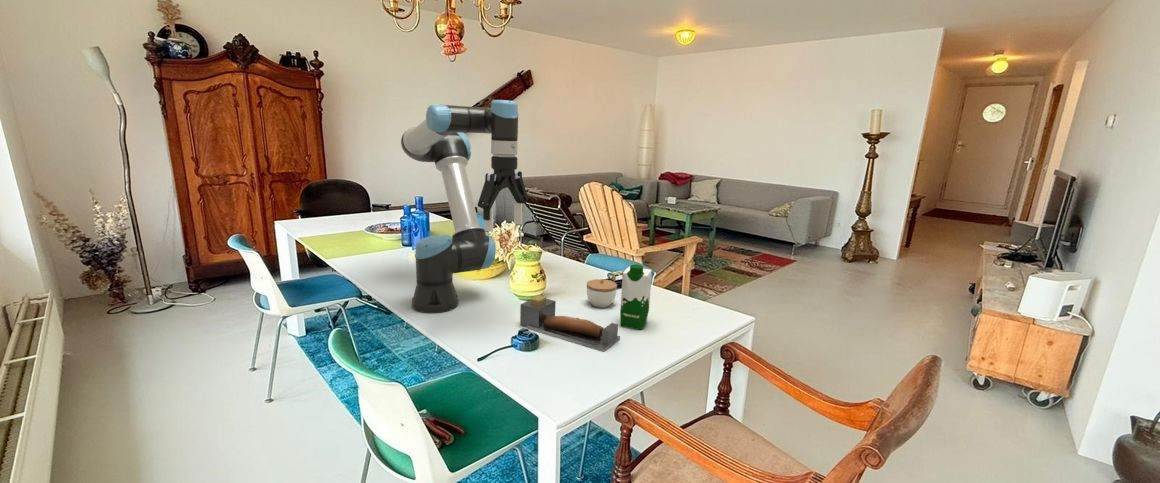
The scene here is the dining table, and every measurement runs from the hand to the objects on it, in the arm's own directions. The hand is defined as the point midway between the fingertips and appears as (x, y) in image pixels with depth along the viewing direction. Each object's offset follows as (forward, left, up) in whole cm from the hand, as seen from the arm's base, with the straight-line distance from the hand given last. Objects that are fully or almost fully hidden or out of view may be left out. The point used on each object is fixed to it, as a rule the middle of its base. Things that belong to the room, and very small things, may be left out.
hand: (504, 227), depth 144 cm
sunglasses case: (+23, +6, -30) cm, 38 cm away
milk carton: (+34, +24, -31) cm, 52 cm away
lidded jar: (+17, +33, -31) cm, 48 cm away
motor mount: (+20, +6, -31) cm, 37 cm away
